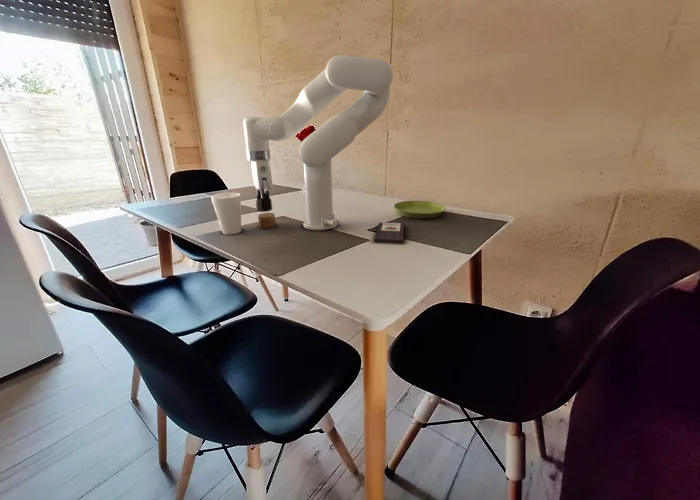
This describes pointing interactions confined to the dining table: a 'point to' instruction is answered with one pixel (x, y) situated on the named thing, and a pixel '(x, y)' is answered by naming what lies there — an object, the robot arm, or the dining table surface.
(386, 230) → the chocolate bar
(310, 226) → the robot arm
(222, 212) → the foam cup
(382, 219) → the dining table surface
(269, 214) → the oak chip middle
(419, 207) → the saucer
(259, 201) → the walnut chip
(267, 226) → the oak base
